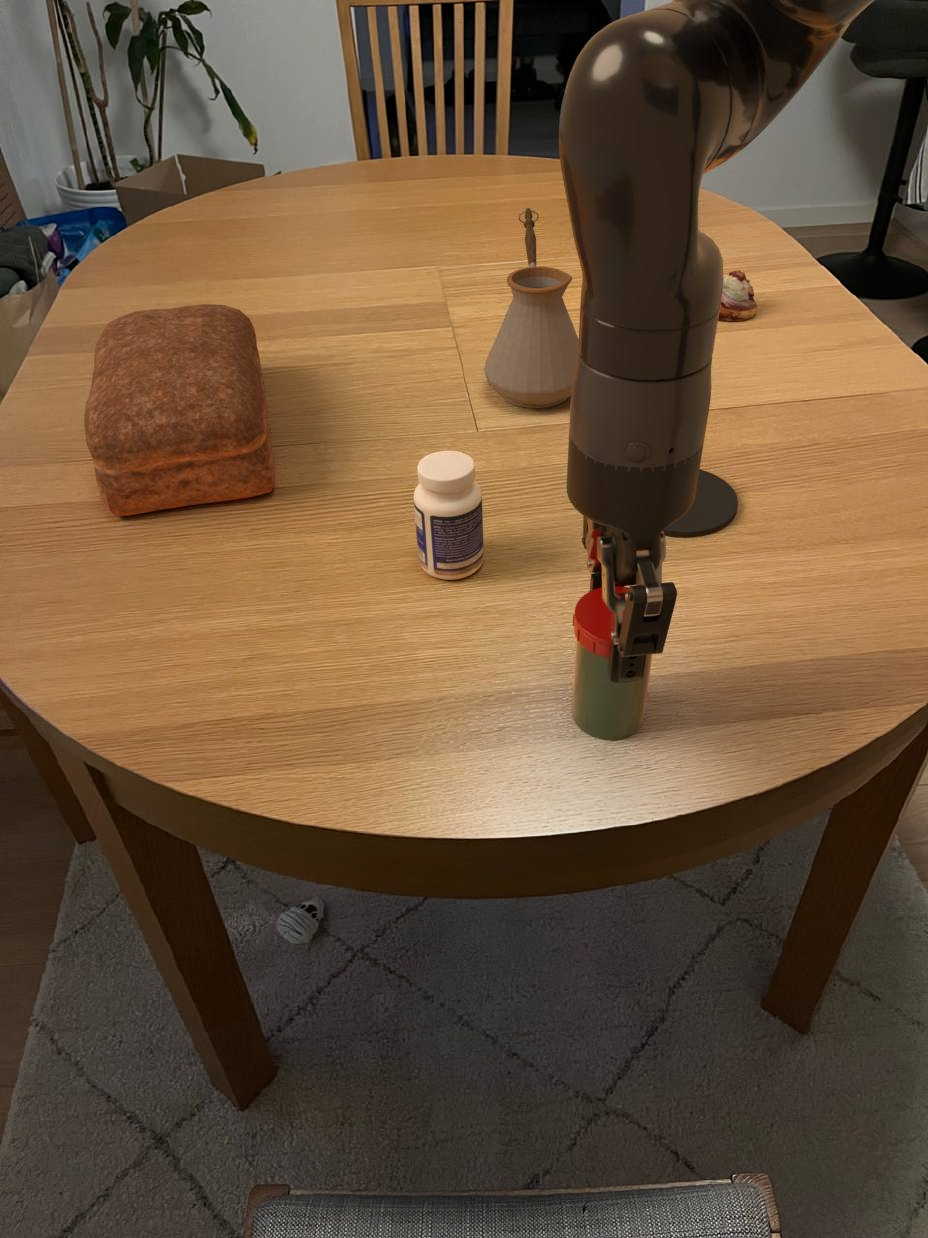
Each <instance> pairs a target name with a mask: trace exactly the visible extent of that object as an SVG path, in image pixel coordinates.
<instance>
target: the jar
mask: <svg viewBox="0 0 928 1238" xmlns="http://www.w3.org/2000/svg"><path fill="white" fill-rule="evenodd" d="M575 639H576V641H575V654H574V655H575V656H574V673H573V688H572V700H571V701H572V704H571V706H572V707H571V715H572V718H573V721H574V722H575V724H576V726H577V727H578V728H579V729H580V730H581V731H583V732H584V733H585V734H587V735H589V736H591V737H593V738H596V739H600V740H606V741H615V740H623V739H626V738H628V737H630V736H632V735H633V734H635V733H636V732H637V731H638V730H640V728H641V727H642V725H643V723H644V719H645V713H646V706H647V699H648V693H649V692H648V691H649V684H650V676H651V671H652V663H653V655H654V654H650V655H646V662H645V669H644V676H643V678H642V679H640V680H638V681H632V682H622V683H613V682H612V681H611V680H610V677H609V673H608V666H609V658H606V657H602V656H599V655H597V654H594V653H592V652H590V651H589V650H587V649H586V648H584V647H583V646H582V645H581V644H580V642H579V641H577V638H575Z"/></svg>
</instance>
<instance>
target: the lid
mask: <svg viewBox="0 0 928 1238" xmlns="http://www.w3.org/2000/svg"><path fill="white" fill-rule="evenodd" d="M628 590H629V586H624V587H622V586H615V593H624V592H628ZM623 616H624V612H623ZM572 627H573V633H574V636H575V639H577V641H579V642H580V644H581V645H582V646H583V647H584V648H586V649H587V650H589V651H590V652H592V653H594V654H597V655H599V656H602V657H606V658H609V656H610V646H611V636H610V632H611V610H609V609H608V607H607V606H606V605H605V604H604V602H603V598H602V587H601V588H597V589H594V590H592V591H590V590H589V591H588V592H586V593H585V594H584V595H582V596H581V597H580V598H579V600H578V601H577V602H576V604H575V609H574V614H573V615H572Z"/></svg>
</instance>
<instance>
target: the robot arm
mask: <svg viewBox="0 0 928 1238" xmlns="http://www.w3.org/2000/svg"><path fill="white" fill-rule="evenodd" d="M874 1H875V0H672V1H671V2H668V3H665V4H661V5H658V6H656V7H652V8H650V9H647V10H643V11H640V12H637V13H633V14H630V15H626V16H623V17H621V18H619V19H616V20H614V21H612V22H611V23H609V24H607V25H606V26H604V27H603V28H601V29H600V30H599V31H597V32H596V33H595V34H594V35H593V36H592V37H591V38H590V39H589V40H588V41H587V43H586V44H585V45H584V46H583V48H582V49H581V51H580V52H579V54H578V56H577V57H576V59H575V61H574V63H573V66H572V67H571V70H570V73H569V76H568V77H567V82H566V86H565V90H564V93H563V96H562V102H561V106H560V107H561V108H560V115H559V123H558V148H559V150H558V151H559V161H560V168H561V175H562V180H563V186H564V192H565V197H566V202H567V208H568V213H569V218H570V224H571V230H572V237H573V241H574V245H575V248H576V253H577V257H578V261H579V265H580V270H581V274H582V281H581V289H580V290H581V291H580V306H579V307H580V308H579V323H578V325H579V326H578V339H579V343H578V354H577V361H576V366H575V371H574V376H573V382H572V390H571V395H570V403H569V404H570V406H569V407H570V408H569V428H568V449H567V466H566V468H567V469H566V494H567V497H568V500H569V502H570V503H571V505H572V506H573V508H574V509H575V510H576V511H577V512H578V513H579V514H580V515H582V516H583V518H582V519H583V520H582V538H581V544H582V546H583V548H584V551H585V550H586V552H587V553H586V554H587V560H586V567H587V569H588V572H589V573H590V583H589V592H590V591H592V590H594V589H597V588H601V587H602V598H603V602H604V604H605V605H606V606H607V607H608V609H609V610H611V632H610V636H611V646H610V656H609V666H608V673H609V677H610V680H611V681H612V682H613V683H622V682H632V681H638V680H640V679H642V678H643V676H644V669H645V662H646V655H650V654H653V655H661V654H663V652H664V648H665V644H666V641H667V637H668V633H669V629H670V625H671V622H672V617H673V614H674V610H675V606H676V602H677V597H678V590H677V588H676V585H675V583H674V581H670V582H669V581H668V582H663V566H662V565H663V562H664V561H665V559H666V557H667V540H666V535H665V534H664V532H663V530H664V529H665V528H667V527H668V526H669V525H671V524H672V523H673V522H675V521H677V520H678V519H680V518H681V517H682V516H684V515H685V514H686V513H687V512H688V511H689V509H690V508H691V506H692V504H693V502H694V499H695V494H696V488H697V482H698V476H699V470H700V469H701V463H702V456H703V450H704V444H705V438H706V431H707V425H708V419H709V412H710V406H711V398H712V365H713V354H714V349H715V342H716V335H717V329H718V323H719V320H718V318H719V311H720V304H721V298H722V289H723V278H724V259H723V256H722V253H721V250H720V248H719V246H718V245H717V244H716V243H715V241H714V240H713V239H712V238H711V237H709V236H708V235H707V234H706V233H704V232H702V231H700V230H699V198H700V189H701V184H702V179H703V176H704V174H706V173H708V172H710V171H711V170H714V169H715V168H718V167H719V166H721V165H722V164H725V163H726V162H727V161H729V160H731V159H733V158H734V157H735V156H736V155H738V154H739V153H740V152H741V151H743V150H744V149H745V148H746V147H748V146H749V145H750V144H751V143H752V142H753V141H754V140H755V139H756V138H758V136H759V135H760V134H761V133H762V132H764V130H765V129H766V128H767V127H769V125H770V124H771V123H772V122H773V121H775V119H776V118H777V117H778V116H779V114H781V112H782V111H783V110H784V109H786V107H787V105H789V103H790V102H791V101H792V100H793V98H794V97H795V96H796V95H797V94H798V92H799V91H800V90H801V89H802V88H803V86H804V85H805V84H806V83H807V82H808V80H809V79H810V78H811V76H812V75H813V74H814V73H815V72H816V70H817V69H818V67H820V65H821V64H822V62H824V60H825V59H826V58H827V56H828V55H829V53H830V52H831V51H832V50H833V49H834V48H835V46H836V44H838V42H839V41H840V39H841V38H842V37H843V35H844V34H845V32H846V31H847V29H848V28H849V26H850V25H851V24H852V23H853V21H854V20H855V19H856V18H857V17H859V15H860V14H861V13H862V12H863V11H864V10H866V9H867V8H868V6H870V5H871V4H872V3H873V2H874ZM615 586H622V587H628V588H629V590H628V592H624V593H615ZM623 612H624V616H623Z"/></svg>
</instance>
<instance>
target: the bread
mask: <svg viewBox="0 0 928 1238" xmlns="http://www.w3.org/2000/svg"><path fill="white" fill-rule="evenodd" d="M259 353H260V352H259V349H258V342H257V334H256V331H255V326H254V325H253V322H252V321H251V319H250V318H249V317H248V316H247V315H246V314H245V313H244V312H243V311H242V310H240V309H239V308H235V307H231V306H228V305H225V304H214V303H213V304H212V303H201V304H190V305H182V306H178V307H173V308H153V309H144V310H136V311H133V312H130V313H127V314H124V315H121V316H118V318H115V319H113V320H111V321H109V322H108V323H107V324H106V325H105V327H104V328H103V331H102V333H101V334H100V337H99V338H98V341H97V342H96V345H95V349H94V354H93V355H94V356H93V372H92V377H91V379H92V380H91V385H90V389H89V390H90V391H89V395H88V397H87V399H86V402H85V408H84V409H85V410H84V416H83V417H84V419H83V420H84V424H83V427H84V436H85V442H86V446H87V448H88V451H89V453H90V455H91V458H92V459H93V464H94V472H95V480H96V484H97V489H98V492H99V495H100V498H101V501H102V505H103V506H105V508H106V509H108V510H109V512H111V513H112V514H113V515H114V516H115V518H118V517H126V516H133V515H139V514H146V513H151V512H157V511H163V510H169V509H174V508H182V507H186V506H187V507H189V506H195V505H204V504H211V503H212V504H213V503H221V502H227V501H236V500H242V499H249V498H252V497H257V496H261V495H264V494H268V493H271V492H272V491H273V488H274V481H275V469H274V449H273V443H272V431H271V427H270V424H269V420H268V413H267V407H266V404H267V402H266V395H265V385H264V378H263V377H264V376H263V369H262V364H261V358H260V354H259Z"/></svg>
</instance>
